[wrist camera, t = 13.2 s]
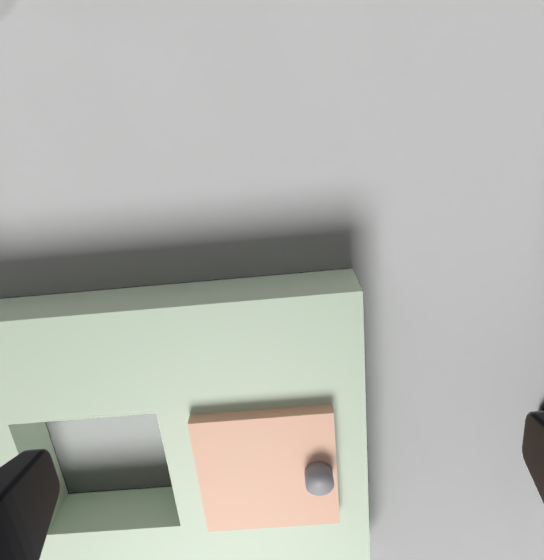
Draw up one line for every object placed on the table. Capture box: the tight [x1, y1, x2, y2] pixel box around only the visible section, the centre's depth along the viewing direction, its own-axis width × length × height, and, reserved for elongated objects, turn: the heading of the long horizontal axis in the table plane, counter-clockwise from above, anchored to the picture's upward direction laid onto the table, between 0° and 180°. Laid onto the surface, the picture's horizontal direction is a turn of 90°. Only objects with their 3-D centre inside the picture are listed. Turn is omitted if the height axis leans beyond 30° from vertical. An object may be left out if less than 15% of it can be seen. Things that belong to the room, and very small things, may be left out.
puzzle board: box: [0, 268, 370, 560], centre depth 22 cm, size 16×16×4 cm
